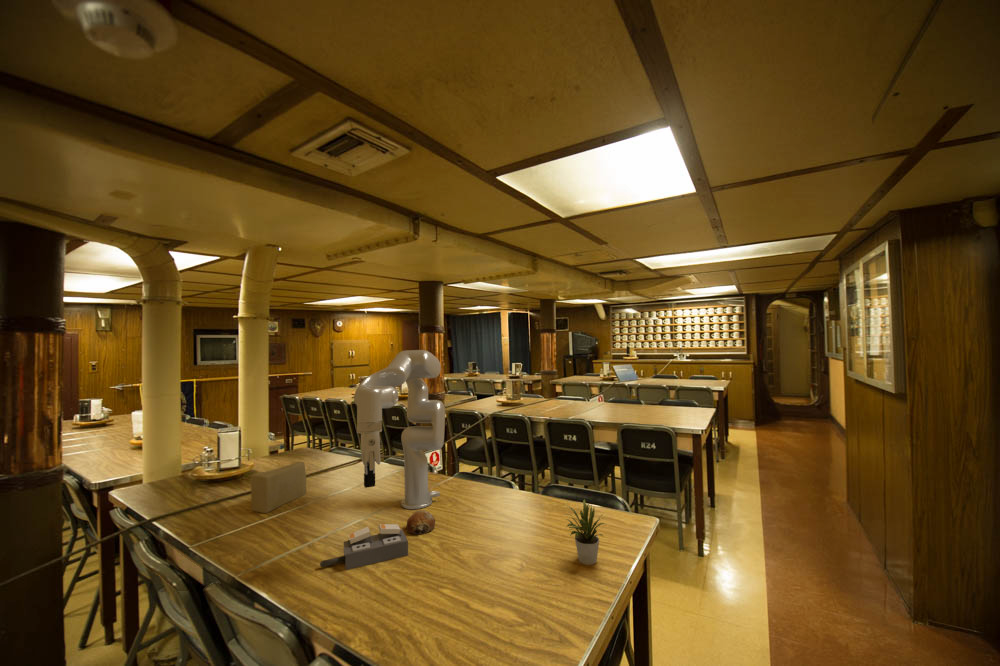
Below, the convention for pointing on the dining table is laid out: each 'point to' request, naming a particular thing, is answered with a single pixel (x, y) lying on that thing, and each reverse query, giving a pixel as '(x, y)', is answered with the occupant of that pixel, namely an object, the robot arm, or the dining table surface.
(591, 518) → the house plant
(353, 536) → the block
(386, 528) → the rocker
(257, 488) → the beige slab
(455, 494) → the dining table surface
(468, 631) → the dining table surface
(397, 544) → the power strip
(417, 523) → the brown round lump
